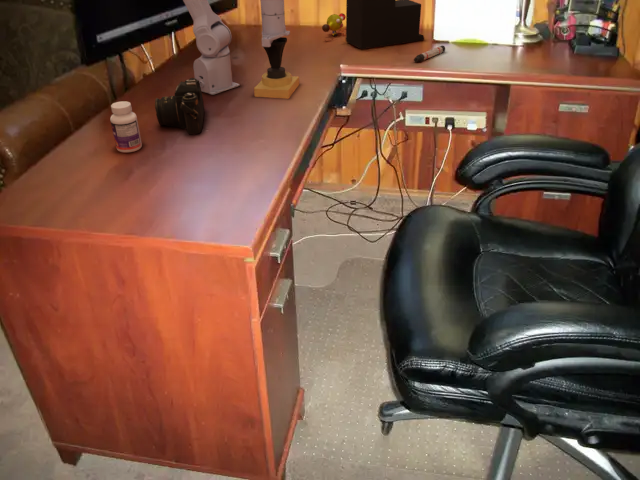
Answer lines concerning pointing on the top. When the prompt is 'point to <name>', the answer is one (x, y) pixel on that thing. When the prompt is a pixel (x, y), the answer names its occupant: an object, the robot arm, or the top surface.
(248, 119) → the top surface
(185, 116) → the film camera
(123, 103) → the pill bottle
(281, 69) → the button
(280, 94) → the plate
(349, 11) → the bookend
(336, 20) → the toy figure
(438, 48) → the marker
